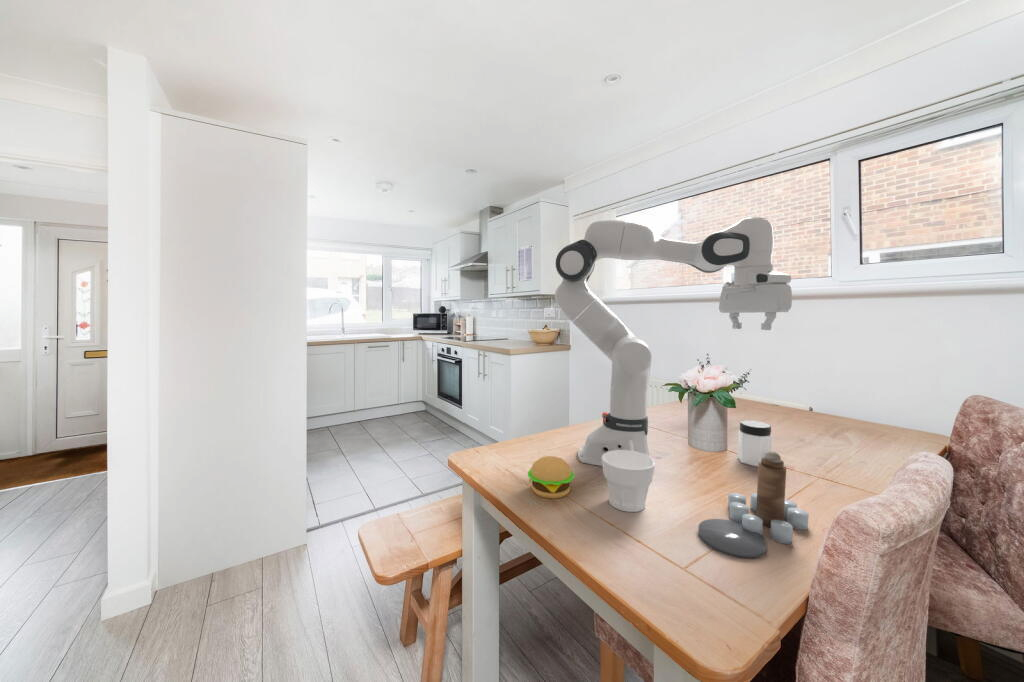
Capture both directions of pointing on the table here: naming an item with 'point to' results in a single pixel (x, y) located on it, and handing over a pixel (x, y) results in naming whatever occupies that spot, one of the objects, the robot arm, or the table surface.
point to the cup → (627, 478)
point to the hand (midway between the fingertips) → (750, 329)
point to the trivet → (732, 538)
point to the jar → (753, 441)
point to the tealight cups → (779, 528)
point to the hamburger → (550, 477)
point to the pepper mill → (771, 488)
